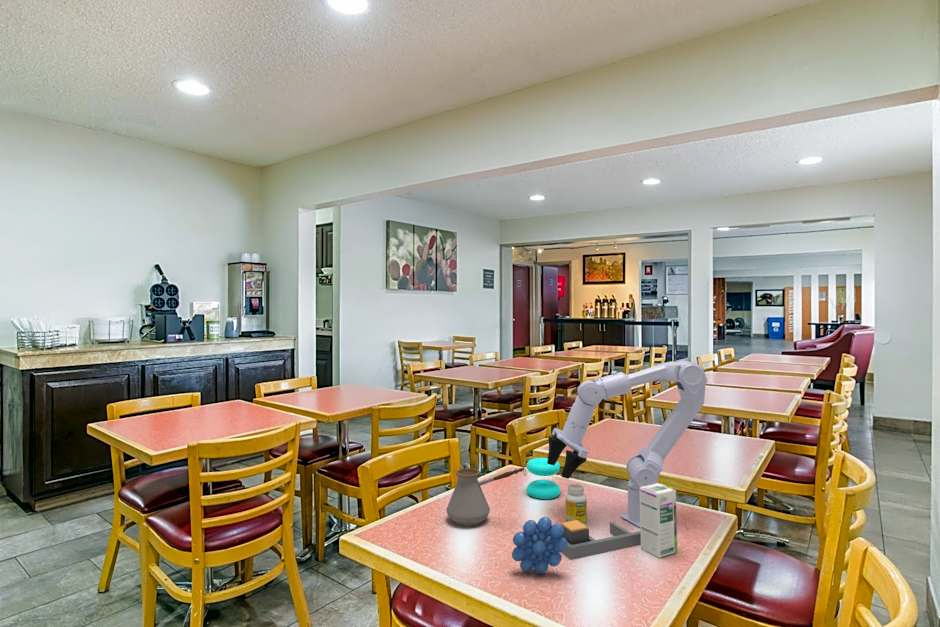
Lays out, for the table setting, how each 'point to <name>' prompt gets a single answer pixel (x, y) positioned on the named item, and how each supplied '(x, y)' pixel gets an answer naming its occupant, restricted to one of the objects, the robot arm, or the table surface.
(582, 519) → the supplement bottle
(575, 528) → the grey tray with block
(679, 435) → the robot arm
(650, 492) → the syrup box
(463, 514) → the coffee pot
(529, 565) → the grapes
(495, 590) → the table surface
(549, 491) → the donuts
